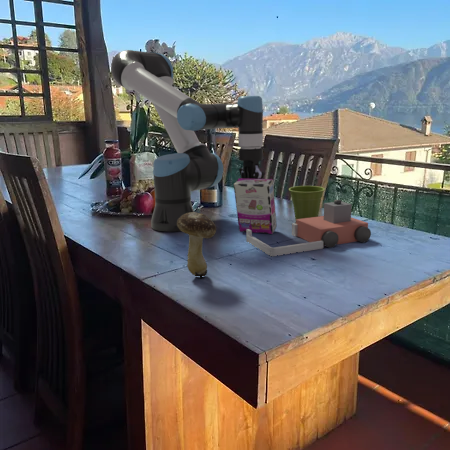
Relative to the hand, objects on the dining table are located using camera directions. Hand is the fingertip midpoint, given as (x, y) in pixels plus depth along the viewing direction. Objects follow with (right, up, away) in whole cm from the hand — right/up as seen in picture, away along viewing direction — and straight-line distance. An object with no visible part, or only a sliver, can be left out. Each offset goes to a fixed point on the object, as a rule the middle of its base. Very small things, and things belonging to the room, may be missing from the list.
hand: (251, 221), depth 146 cm
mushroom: (-15, -13, -41) cm, 46 cm away
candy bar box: (+2, -3, -4) cm, 5 cm away
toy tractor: (+15, -6, -15) cm, 22 cm away
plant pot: (+19, 0, +7) cm, 20 cm away
